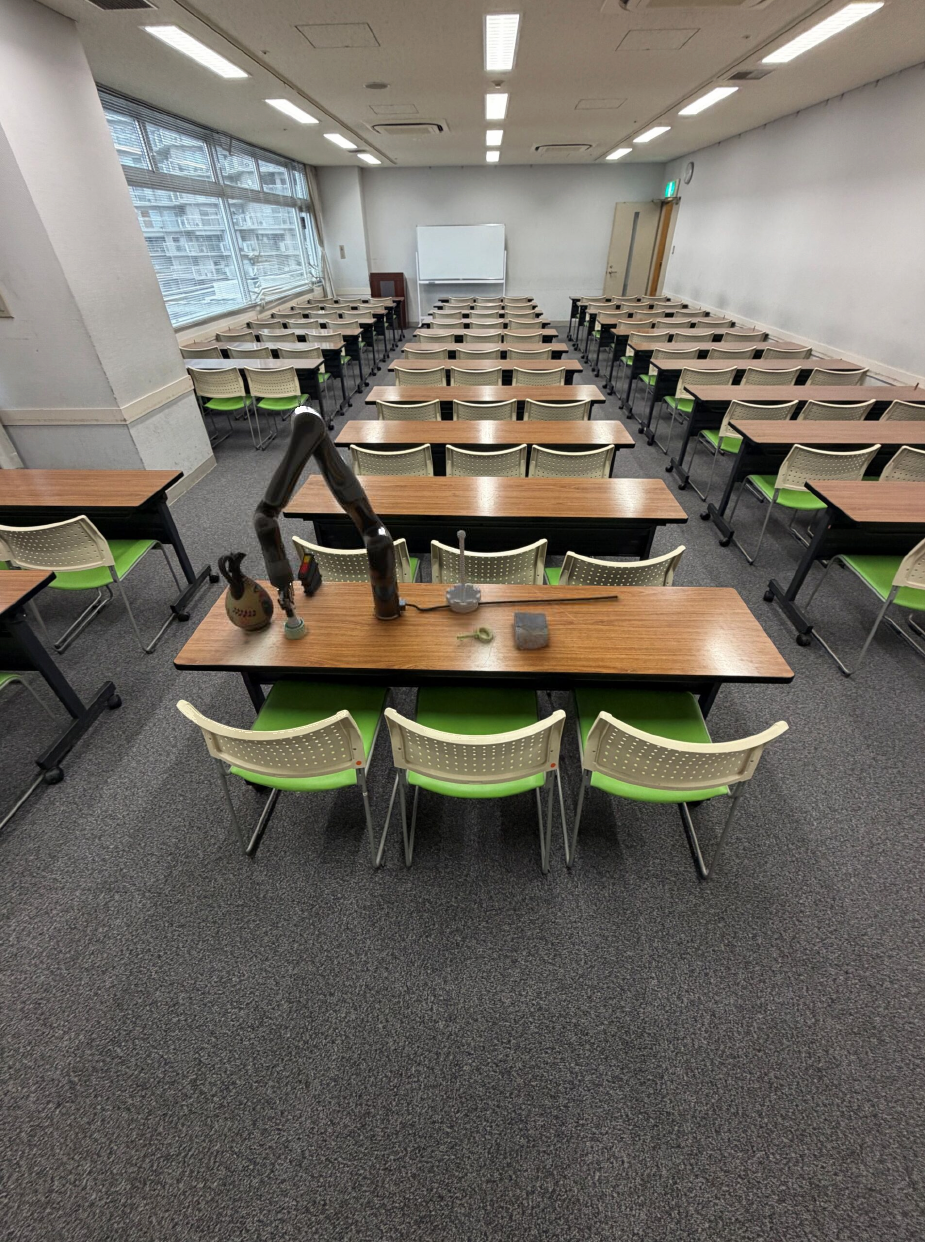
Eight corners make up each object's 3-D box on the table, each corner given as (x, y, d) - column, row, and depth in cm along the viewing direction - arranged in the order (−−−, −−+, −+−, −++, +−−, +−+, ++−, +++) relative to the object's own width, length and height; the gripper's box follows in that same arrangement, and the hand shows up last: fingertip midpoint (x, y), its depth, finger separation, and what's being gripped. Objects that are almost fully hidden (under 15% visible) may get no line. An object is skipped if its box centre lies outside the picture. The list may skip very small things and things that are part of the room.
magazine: (325, 574, 209) (313, 552, 196) (317, 602, 202) (304, 581, 189) (316, 574, 209) (303, 552, 196) (308, 601, 203) (294, 581, 190)
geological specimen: (545, 610, 177) (550, 635, 165) (543, 625, 181) (548, 650, 168) (514, 610, 178) (517, 634, 165) (513, 625, 181) (516, 650, 168)
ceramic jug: (248, 612, 191) (223, 539, 174) (285, 615, 188) (265, 542, 171) (221, 639, 177) (192, 563, 160) (262, 644, 175) (237, 567, 157)
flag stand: (481, 614, 186) (480, 539, 168) (445, 614, 186) (441, 539, 168) (480, 594, 196) (480, 522, 179) (447, 595, 197) (443, 523, 179)
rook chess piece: (304, 622, 178) (298, 602, 173) (295, 629, 175) (290, 609, 170) (293, 619, 179) (288, 600, 175) (285, 626, 176) (279, 607, 171)
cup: (307, 626, 182) (305, 617, 180) (304, 638, 177) (302, 628, 174) (288, 628, 182) (285, 618, 179) (284, 640, 176) (281, 630, 174)
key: (455, 641, 173) (455, 636, 172) (484, 628, 179) (484, 623, 177) (468, 651, 168) (467, 646, 167) (497, 638, 174) (497, 633, 173)
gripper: (287, 579, 159) (299, 624, 169) (294, 558, 170) (305, 601, 180) (262, 582, 158) (276, 626, 168) (271, 560, 170) (284, 603, 180)
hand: (291, 613), depth 174 cm, fingers closed on rook chess piece, 3 cm apart
